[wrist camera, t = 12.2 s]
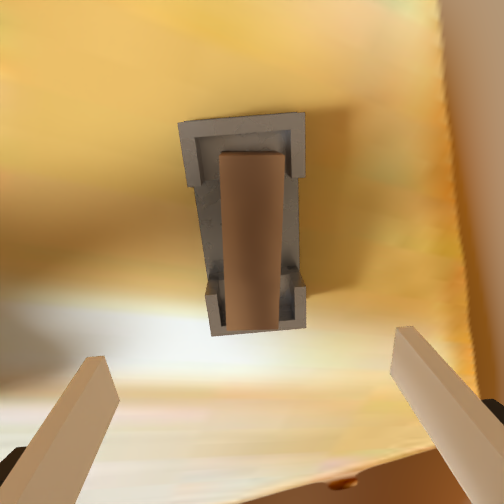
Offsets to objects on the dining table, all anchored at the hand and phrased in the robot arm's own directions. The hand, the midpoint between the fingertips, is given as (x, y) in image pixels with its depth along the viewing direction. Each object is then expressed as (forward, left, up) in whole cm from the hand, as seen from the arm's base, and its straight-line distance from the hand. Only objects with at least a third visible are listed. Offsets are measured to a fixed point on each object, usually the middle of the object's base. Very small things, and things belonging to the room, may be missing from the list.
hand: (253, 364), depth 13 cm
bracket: (+1, 0, -22) cm, 22 cm away
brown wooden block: (+1, 0, -19) cm, 19 cm away
